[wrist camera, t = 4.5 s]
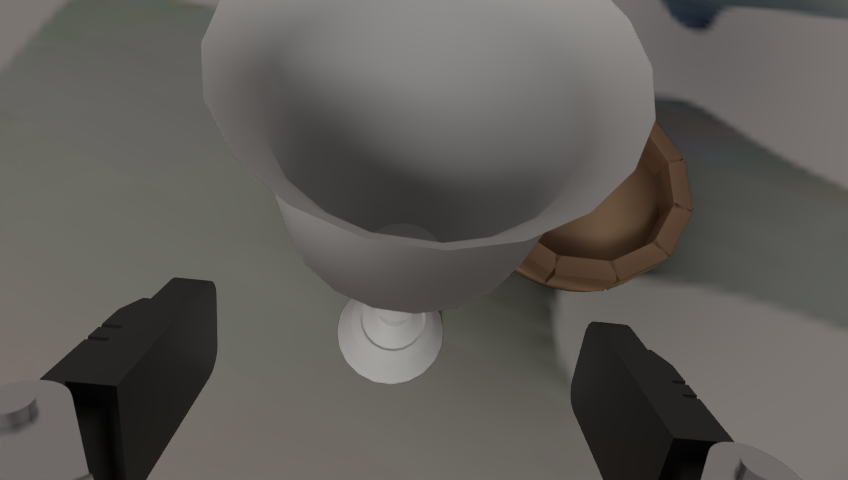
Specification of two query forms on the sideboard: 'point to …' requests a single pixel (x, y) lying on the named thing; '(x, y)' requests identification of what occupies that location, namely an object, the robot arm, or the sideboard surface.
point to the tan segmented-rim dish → (619, 227)
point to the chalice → (425, 143)
